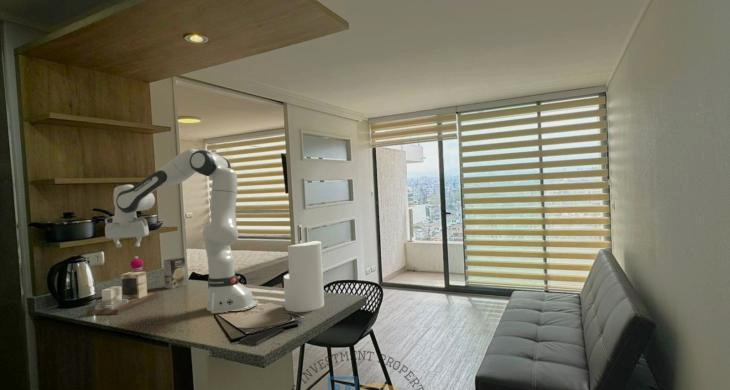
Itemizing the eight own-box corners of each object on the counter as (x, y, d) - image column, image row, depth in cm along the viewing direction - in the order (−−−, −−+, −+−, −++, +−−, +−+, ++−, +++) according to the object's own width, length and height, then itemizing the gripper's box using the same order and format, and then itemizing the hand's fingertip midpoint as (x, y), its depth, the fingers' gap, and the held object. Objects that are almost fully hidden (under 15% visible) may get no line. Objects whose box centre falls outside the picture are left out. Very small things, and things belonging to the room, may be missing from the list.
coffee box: (172, 289, 214) (171, 260, 214) (164, 288, 217) (163, 260, 217) (186, 285, 223) (184, 257, 223) (178, 284, 225) (176, 257, 225)
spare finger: (111, 307, 174) (110, 289, 174) (102, 307, 175) (101, 290, 174) (122, 303, 181) (121, 286, 181) (114, 303, 181) (113, 286, 181)
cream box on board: (157, 296, 199) (156, 269, 199) (117, 314, 171) (116, 282, 171) (131, 297, 200) (129, 270, 200) (87, 314, 172) (85, 283, 172)
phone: (284, 329, 140) (255, 344, 127) (285, 332, 140) (255, 347, 127) (268, 326, 144) (238, 340, 131) (268, 329, 144) (238, 343, 131)
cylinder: (332, 303, 173) (329, 241, 172) (305, 314, 158) (302, 247, 158) (304, 298, 182) (301, 240, 182) (276, 308, 168) (273, 245, 168)
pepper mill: (138, 294, 206) (136, 257, 206) (127, 294, 208) (125, 257, 208) (148, 290, 213) (146, 254, 213) (137, 290, 215) (135, 255, 215)
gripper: (150, 216, 186) (152, 244, 187) (111, 218, 188) (113, 246, 188) (142, 217, 180) (144, 246, 180) (101, 220, 182) (103, 249, 182)
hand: (128, 246), depth 184 cm, fingers open, 8 cm apart
